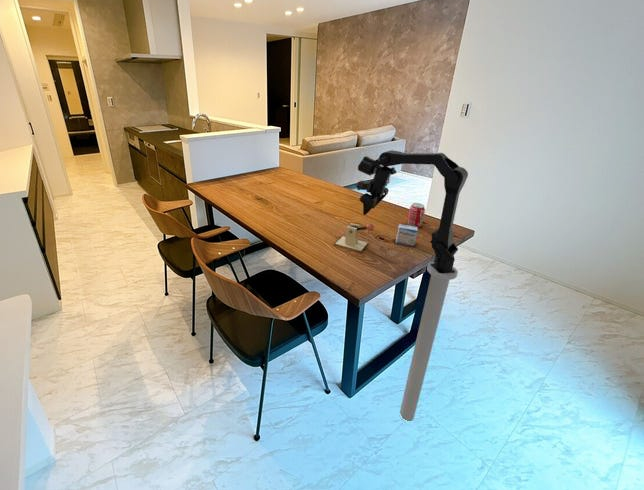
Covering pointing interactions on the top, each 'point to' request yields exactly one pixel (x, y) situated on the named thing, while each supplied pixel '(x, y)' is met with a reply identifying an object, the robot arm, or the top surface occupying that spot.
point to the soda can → (416, 215)
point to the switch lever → (368, 227)
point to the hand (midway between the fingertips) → (368, 211)
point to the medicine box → (406, 235)
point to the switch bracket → (352, 239)
